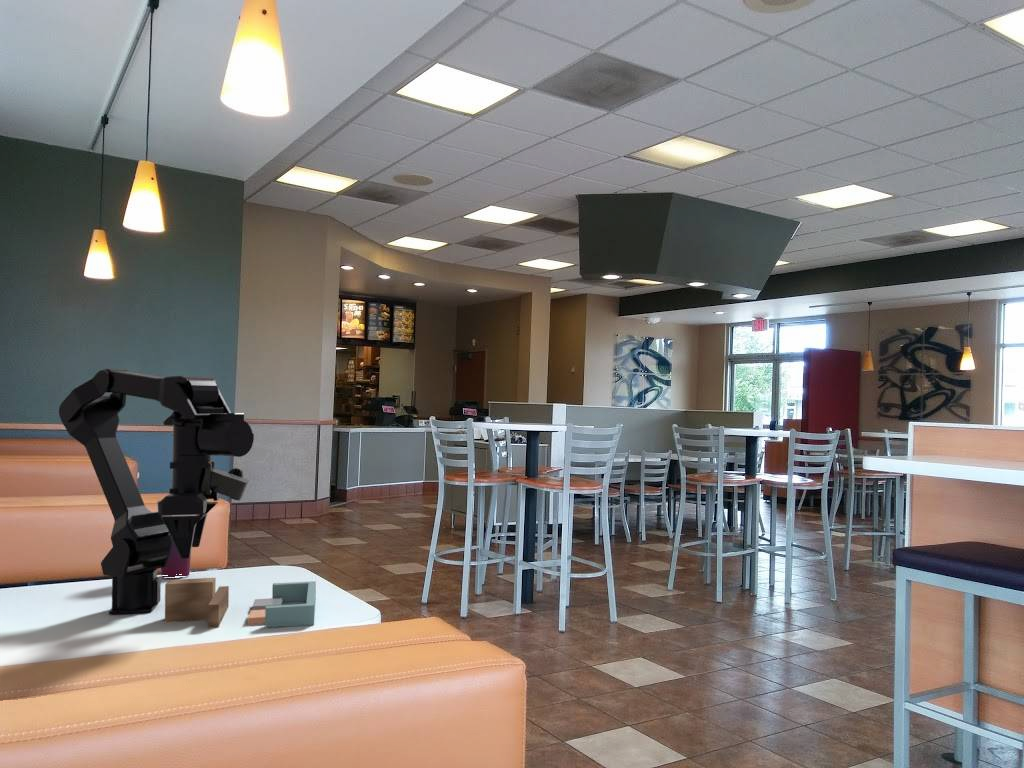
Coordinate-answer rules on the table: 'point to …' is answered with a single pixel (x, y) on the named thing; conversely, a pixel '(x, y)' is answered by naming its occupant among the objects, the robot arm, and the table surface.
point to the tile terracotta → (256, 617)
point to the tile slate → (266, 603)
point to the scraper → (195, 601)
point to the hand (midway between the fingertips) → (190, 552)
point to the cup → (175, 562)
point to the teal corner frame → (292, 613)
